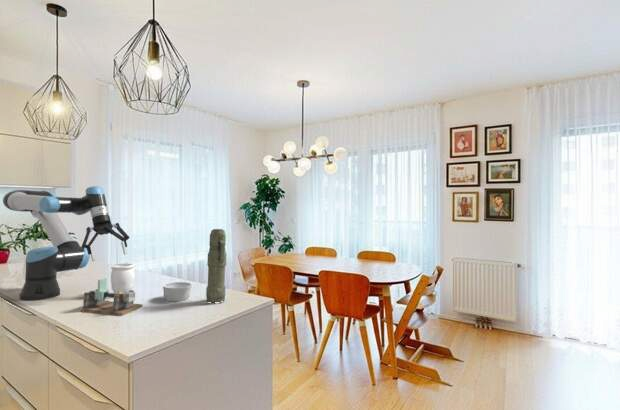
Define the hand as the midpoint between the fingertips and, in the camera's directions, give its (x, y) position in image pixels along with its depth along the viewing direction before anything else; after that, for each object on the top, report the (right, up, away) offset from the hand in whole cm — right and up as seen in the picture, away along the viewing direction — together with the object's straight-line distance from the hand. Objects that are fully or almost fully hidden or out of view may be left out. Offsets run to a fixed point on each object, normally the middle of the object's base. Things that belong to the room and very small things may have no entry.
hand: (110, 257), depth 157 cm
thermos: (+52, -22, -1) cm, 57 cm away
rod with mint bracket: (+12, -20, -17) cm, 29 cm away
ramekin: (+32, -21, +1) cm, 39 cm away
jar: (+3, -20, +6) cm, 21 cm away
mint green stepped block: (+7, -16, -16) cm, 24 cm away
